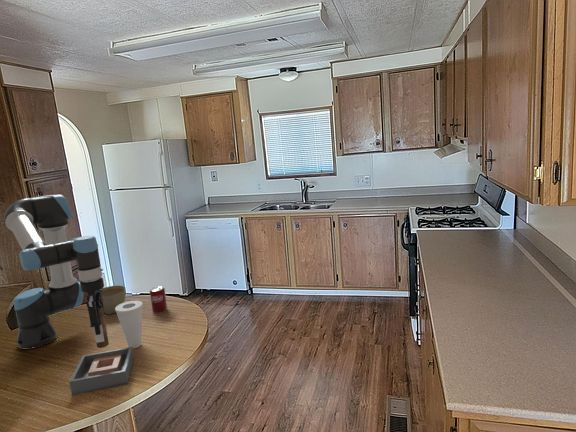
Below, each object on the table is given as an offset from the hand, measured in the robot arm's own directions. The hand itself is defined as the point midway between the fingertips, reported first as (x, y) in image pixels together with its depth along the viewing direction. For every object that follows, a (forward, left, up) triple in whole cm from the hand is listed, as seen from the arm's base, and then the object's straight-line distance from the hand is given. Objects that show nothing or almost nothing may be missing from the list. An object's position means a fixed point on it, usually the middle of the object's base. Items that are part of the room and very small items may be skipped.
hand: (101, 338), depth 146 cm
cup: (+8, +17, -14) cm, 23 cm away
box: (0, -3, -13) cm, 14 cm away
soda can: (+16, +51, -14) cm, 55 cm away
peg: (0, 0, -3) cm, 3 cm away
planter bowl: (-9, +62, -14) cm, 64 cm away
